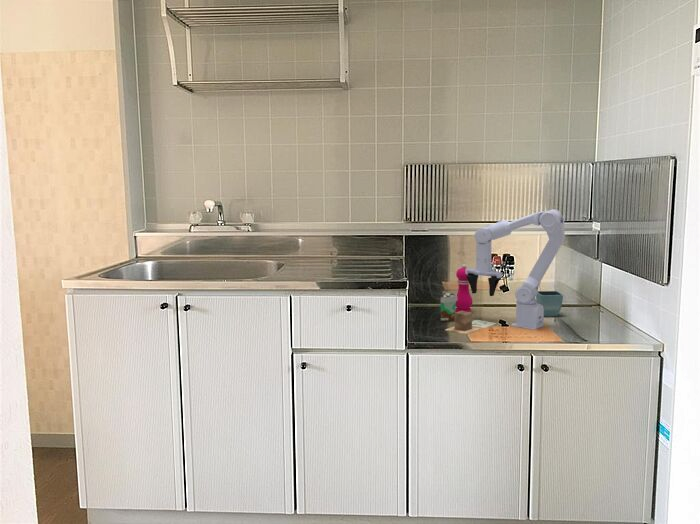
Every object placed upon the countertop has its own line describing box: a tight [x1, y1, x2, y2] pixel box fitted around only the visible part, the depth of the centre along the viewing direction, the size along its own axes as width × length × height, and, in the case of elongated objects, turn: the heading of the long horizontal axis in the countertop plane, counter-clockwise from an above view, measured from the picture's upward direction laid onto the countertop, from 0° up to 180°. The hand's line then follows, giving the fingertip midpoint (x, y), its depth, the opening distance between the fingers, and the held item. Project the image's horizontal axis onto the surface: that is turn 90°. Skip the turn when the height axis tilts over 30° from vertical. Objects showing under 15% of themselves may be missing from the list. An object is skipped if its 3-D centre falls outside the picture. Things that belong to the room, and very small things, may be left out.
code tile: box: [472, 319, 497, 329], centre depth 239 cm, size 9×9×1 cm
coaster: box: [444, 326, 481, 336], centre depth 230 cm, size 9×9×1 cm
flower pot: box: [535, 290, 564, 317], centre depth 251 cm, size 9×9×9 cm
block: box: [453, 311, 473, 331], centre depth 230 cm, size 4×4×6 cm
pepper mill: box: [455, 263, 473, 313], centre depth 256 cm, size 7×7×20 cm
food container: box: [440, 291, 458, 323], centre depth 246 cm, size 12×6×10 cm, turn 168°
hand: (482, 294), depth 242 cm, fingers open, 7 cm apart
